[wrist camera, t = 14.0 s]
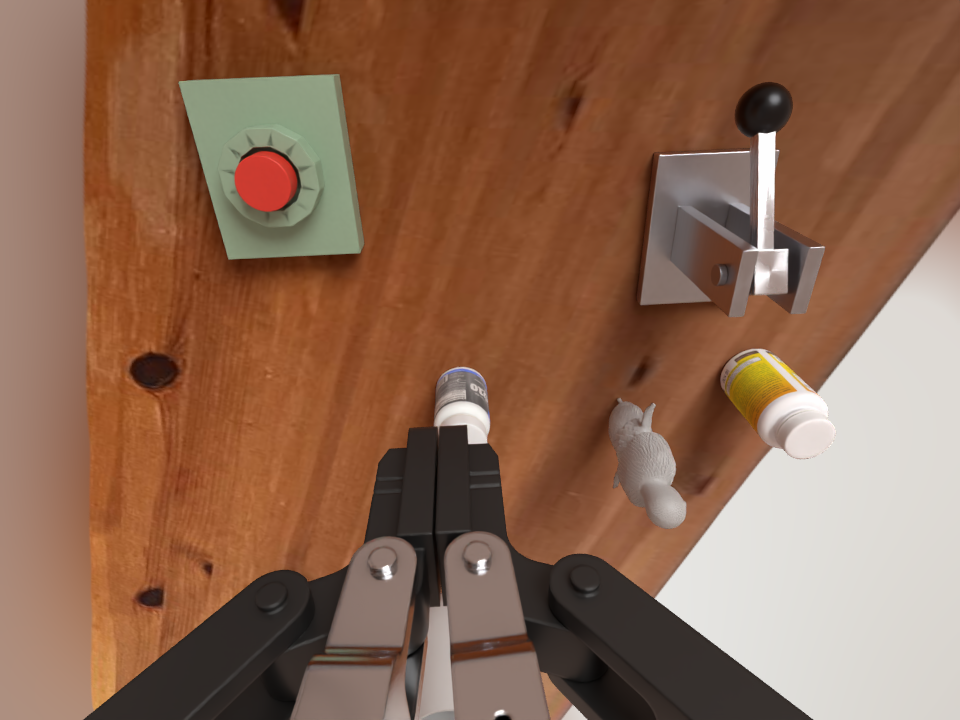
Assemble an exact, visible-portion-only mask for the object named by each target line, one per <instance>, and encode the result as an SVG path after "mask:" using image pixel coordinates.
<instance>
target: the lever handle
mask: <svg viewBox="0 0 960 720" xmlns="http://www.w3.org/2000/svg"><path fill="white" fill-rule="evenodd" d="M792 109H793V102H792V97H791V95H790V93H789V91H788V90H787V89H786V88H785V87H784V86H782V85H780V84H778V83H774V82H765V83H760V84H758V85H755V86H754V87H752V88H750V89H749V90H748V91H746V92H745V93H744V94H743V96H742V97H741V98H740V100H739V102H738V104H737V106H736V109H735V122H736V125H737V127H738V129H739V130H740V132H741V133H743V134H744V135H746V136H748V137H750V235H749V244H750V245H752V246H754V247H755V248H757V249H758V250H759V253H758V257H757V262H756V266H755V270H754V274H753V279H752V283H751V287H750V291H749V295H771V294H787V293H788V266H789V249H774V200H775V133H777V132H778V131H780V130H781V129H782V128H783V127H784V126H785V124H786V123H787V122H788V120H789V118H790V116H791V113H792Z"/></svg>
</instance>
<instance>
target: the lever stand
mask: <svg viewBox="0 0 960 720" xmlns="http://www.w3.org/2000/svg"><path fill="white" fill-rule="evenodd" d="M779 152H780V150H779V149H775V169H776V165H777V160H778V156H779ZM749 235H750V148H747V149H724V150H702V151H679V152H657V153H654V157H653V165H652V174H651V182H650V190H649V198H648V207H647V215H646V223H645V231H644V240H643V248H642V256H641V264H640V273H639V281H638V289H637V297H636V300H637V301H638V303H639V304H640V305H651V304H671V303H691V302H711V301H713V302H714V303H715V304H716V305H717V306H718V307H719V308H720V309H721V310H722V311H723V312H724V313H725V314H726V315H727V316H728V317H741V316H744V313H745V309H746V304H747V300H748V296H749V291H750V287H751V283H752V279H753V274H754V270H755V266H756V262H757V257H758V253H759V250H758V249H757V248H755V247H754V246H752V245H750V244H749ZM774 249H789V266H788V293H787V294H771V295H767V296H768V297H769V298H771V299H772V300H773V301H775V302H776V303H777V304H778V305H780V306H781V307H782V308H784V309H785V310H786V311H787V312H789V313H790V314H801V313H806V310H807V307H808V304H809V300H810V297H811V294H812V290H813V287H814V283H815V280H816V277H817V273H818V270H819V267H820V263H821V260H822V257H823V253H824V250H825V246H823V245H821V244H819V243H817V242H815V241H813V240H811V239H809V238H807V237H805V236H803V235H802V234H800V233H798V232H796V231H794V230H792V229H790V228H788V227H786V226H784V225H782V224H781V223H779V222H777V221H775V220H774Z"/></svg>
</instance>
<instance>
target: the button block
mask: <svg viewBox="0 0 960 720" xmlns="http://www.w3.org/2000/svg"><path fill="white" fill-rule="evenodd" d="M179 86H180V90H181V93H182V97H183V100H184V104H185V107H186V111H187V114H188V118H189V121H190V125H191V128H192V132H193V136H194V139H195V143H196V146H197V150H198V153H199V157H200V160H201V164H202V167H203V171H204V174H205V178H206V182H207V185H208V189H209V192H210V196H211V199H212V203H213V206H214V210H215V213H216V217H217V221H218V224H219V228H220V231H221V235H222V238H223V242H224V245H225V249H226V252H227V256H228V259H250V258H271V257H292V256H313V255H333V254H354V253H360V252H361V250H362V248H363V246H364V238H363V232H362V225H361V218H360V211H359V204H358V198H357V191H356V184H355V177H354V171H353V164H352V157H351V150H350V143H349V137H348V130H347V123H346V116H345V109H344V103H343V96H342V89H341V82H340V76H339V74H332V75H307V76H283V77H259V78H234V79H210V80H190V81H181V82H179ZM260 151H269V152H274V153H276V154H279V155H280V156H282V157H283V158H285V159H286V160H287V161H288V162H289V163H290V164H291V166H292V167H293V169H294V171H295V174H296V177H297V190H296V193H295V195H294V197H293V198H292V199H291V200H290V201H289V202H288V203H287V204H286V205H285V206H283V207H282V208H281V209H279V210H276V211H272V212H265V211H260V210H257V209H255V208H253V207H251V206H250V205H248V204H247V203H246V202H245V201H244V200H243V199H242V198H241V197H240V195H239V193H238V191H237V189H236V186H235V180H234V176H235V171H236V168H237V166H238V164H239V163H240V162H241V161H242V160H243V159H245V158H247V157H248V156H250V155H252V154H254V153H257V152H260Z"/></svg>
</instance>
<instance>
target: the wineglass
mask: <svg viewBox="0 0 960 720" xmlns="http://www.w3.org/2000/svg"><path fill="white" fill-rule="evenodd" d="M427 635H428V647H427V655H426V663H425V672H424V680H423V688H422V696H421V705H420V713H419V720H455V717H454V703H453V689H452V675H451V661H450V638H449V624H448V611H447V606H443V599H442V593H441V600H440V607H430V613H429V630H428V634H427Z"/></svg>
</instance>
